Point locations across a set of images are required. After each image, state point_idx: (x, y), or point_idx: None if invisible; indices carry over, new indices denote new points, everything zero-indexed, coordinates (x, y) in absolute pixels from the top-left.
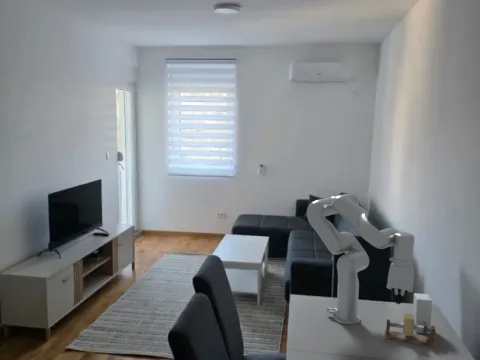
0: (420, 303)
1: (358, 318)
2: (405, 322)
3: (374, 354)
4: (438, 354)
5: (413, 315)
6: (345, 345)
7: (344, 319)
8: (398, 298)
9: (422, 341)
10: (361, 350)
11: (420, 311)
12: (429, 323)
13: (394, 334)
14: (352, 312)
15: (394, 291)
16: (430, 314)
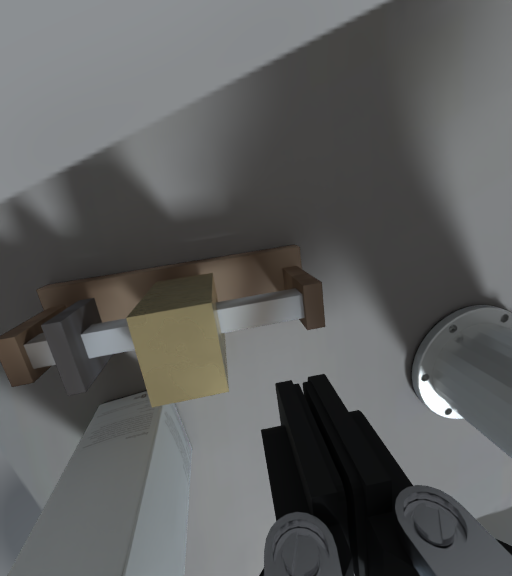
0: (94, 572)
1: (423, 379)
2: (200, 295)
3: (333, 42)
4: (15, 208)
5: (148, 393)
6: (473, 83)
7: (491, 325)
8: (333, 437)
9: (109, 281)
10: (398, 60)
11: (115, 495)
12: (83, 445)
13: (257, 290)
14: (493, 357)
15: (507, 570)
16: (50, 502)
